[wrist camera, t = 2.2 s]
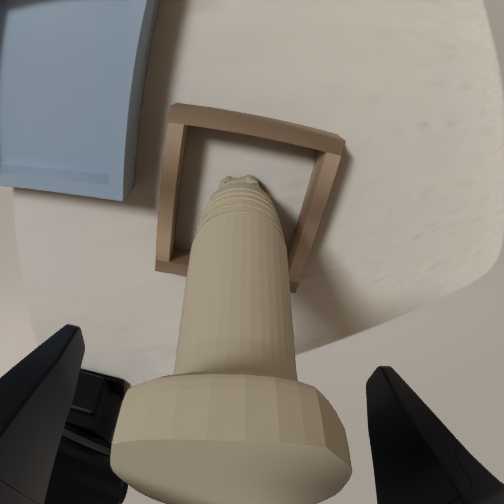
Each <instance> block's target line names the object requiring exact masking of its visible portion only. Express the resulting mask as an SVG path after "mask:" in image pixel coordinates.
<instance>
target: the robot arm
mask: <svg viewBox="0 0 504 504" xmlns="http://www.w3.org/2000/svg"><path fill="white" fill-rule="evenodd" d="M84 351H85V344H84V340H83V336H82V332H81V329H80V327H78V326H74V325H70V324H67V325H65V326H64V327H62V328H61V329H60V330H59V331H57V332H56V333H55V334H54V335H52V336H51V337H50V338H49V339H47V340H46V341H45V342H43V343H42V344H41V345H40V346H39V347H37V348H36V349H35V350H34V351H32V352H31V353H30V354H29V355H27V356H26V357H25V358H24V359H23V360H21V361H20V362H19V363H18V364H17V365H15V366H14V367H13V368H12V369H10V370H9V371H8V372H7V373H6V374H4V375H3V376H2V377H1V378H0V504H122V503H123V501H124V499H125V496H126V493H127V489H128V484H127V483H126V482H124V481H123V480H122V479H120V478H119V477H118V476H117V475H116V474H115V473H114V472H113V470H112V468H111V465H110V455H111V446H112V441H113V437H114V432H115V428H116V424H117V420H118V416H119V413H120V409H121V405H122V402H123V399H124V397H125V394H126V387H125V383H124V381H123V380H121V379H117V378H113V377H108V376H104V375H100V374H96V373H93V372H89V371H85V370H81V369H80V368H81V364H82V360H83V356H84ZM366 395H367V396H366V397H367V416H368V431H369V438H370V445H371V452H372V460H373V467H374V475H375V485H376V494H377V504H504V484H503V483H501V482H500V481H499V480H498V479H497V478H496V477H494V476H493V475H492V474H491V473H490V472H489V471H488V470H487V469H486V468H485V467H484V466H483V465H482V464H480V463H479V462H478V461H477V460H476V459H475V458H474V457H473V456H472V455H471V454H470V453H469V452H468V450H466V448H465V447H464V446H463V445H462V444H461V443H460V442H459V441H458V439H456V438H455V436H454V435H453V434H452V433H451V432H450V431H449V430H448V428H447V427H446V426H445V425H444V424H443V423H442V422H441V421H440V420H439V418H438V417H437V416H436V415H435V414H434V413H433V412H432V411H431V410H430V409H429V407H427V405H426V404H425V403H424V402H423V401H422V400H421V399H420V398H419V397H418V395H417V394H416V393H415V392H414V391H413V390H412V389H411V388H410V387H409V386H408V385H407V384H406V382H405V381H404V380H403V379H402V378H401V377H400V376H399V375H398V374H397V373H396V372H395V371H394V370H393V368H392V367H390V366H379V367H377V369H376V370H375V371H374V372H373V374H372V375H371V377H370V378H369V379H368V381H367V383H366Z"/></svg>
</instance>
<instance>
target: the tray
mask: <svg viewBox="0 0 504 504" xmlns="http://www.w3.org/2000/svg"><path fill="white" fill-rule="evenodd" d="M159 1H160V0H0V185H2V186H10V187H18V188H27V189H35V190H43V191H51V192H58V193H66V194H74V195H81V196H88V197H96V198H103V199H110V200H117V201H123V200H124V199H125V198H126V196H127V195H128V194H129V193H130V191H131V190H132V189H133V188H134V179H135V163H136V150H137V139H138V128H139V119H140V110H141V102H142V94H143V87H144V80H145V73H146V67H147V61H148V55H149V49H150V44H151V39H152V33H153V28H154V23H155V19H156V14H157V10H158V5H159Z"/></svg>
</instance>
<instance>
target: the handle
mask: <svg viewBox="0 0 504 504" xmlns="http://www.w3.org/2000/svg"><path fill="white" fill-rule="evenodd" d="M110 465H111V468H112V470H113V472H114V473H115V474H116V475H117V476H118V477H119V478H120V479H122V480H123V481H124V482H126V483H127V484H128V485H130V486H131V487H132V488H134V489H135V490H137V491H138V492H140V493H142V494H144V495H145V496H148V497H150V498H152V499H155V500H157V501H160V502H163V503H165V504H317V503H319V502H322V501H324V500H327V499H328V498H330V497H332V496H334V495H336V494H337V493H338V492H339V491H341V490H342V488H343V487H344V486H345V484H346V483H347V482H348V480H349V479H350V477H351V474H352V467H351V460H350V453H349V447H348V442H347V438H346V433H345V429H344V427H343V425H342V423H341V421H340V419H339V417H338V415H337V413H336V411H335V410H334V409H333V407H332V405H331V404H330V403H329V401H328V400H327V399H326V398H325V397H324V396H323V395H322V394H321V393H320V392H319V391H318V390H317V389H316V388H315V387H314V386H310V385H307V384H304V383H301V382H298V380H297V374H296V363H295V349H294V336H293V323H292V311H291V297H290V283H289V271H288V258H287V249H286V244H285V239H284V235H283V231H282V227H281V223H280V220H279V217H278V214H277V211H276V209H275V207H274V205H273V202H272V200H271V197H270V196H269V194H268V193H265V192H264V190H262V189H261V187H260V186H259V184H258V181H257V179H256V177H254V176H251V175H247V176H245V177H242V178H233V177H231V176H228V177H226V178H224V179H223V180H222V181H221V183H220V185H219V190H217V191H216V192H215V193H214V195H213V196H212V197H211V199H210V200H209V201H208V203H207V205H206V207H205V209H204V211H203V213H202V216H201V218H200V220H199V223H198V226H197V229H196V233H195V236H194V240H193V243H192V247H191V252H190V259H189V266H188V272H187V279H186V287H185V294H184V301H183V308H182V315H181V323H180V330H179V338H178V345H177V353H176V361H175V369H174V374H173V375H168V376H163V377H160V378H157V379H154V380H150V381H147V382H144V383H140V384H138V385H136V386H134V387H131V388H129V389H128V390H127V392H126V394H125V397H124V399H123V402H122V405H121V409H120V413H119V416H118V420H117V424H116V428H115V432H114V437H113V441H112V446H111V455H110Z"/></svg>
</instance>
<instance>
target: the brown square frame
mask: <svg viewBox="0 0 504 504" xmlns="http://www.w3.org/2000/svg"><path fill="white" fill-rule="evenodd" d="M188 125H191V126H198V127H205V128H211V129H217V130H223V131H229V132H235V133H241V134H246V135H251V136H257V137H262V138H267V139H272V140H276V141H281V142H286V143H290V144H295V145H299V146H303V147H307V148H312V149H316V150H319V151H318V154H317V158H316V161H315V165H314V168H313V172H312V175H311V179H310V182H309V185H308V189H307V192H306V196H305V199H304V202H303V206H302V209H301V212H300V216H299V219H298V222H297V226H296V229H295V232H294V235H293V239H292V242H291V245H290V248H289V252H288V255H287V258H288V271H289V283H290V292H293V293H295V292H296V289H297V287H298V284H299V281H300V278H301V276H302V273H303V270H304V267H305V265H306V262H307V259H308V256H309V253H310V250H311V247H312V245H313V242H314V239H315V236H316V233H317V230H318V227H319V224H320V221H321V218H322V215H323V212H324V209H325V206H326V203H327V200H328V197H329V194H330V191H331V188H332V184H333V181H334V178H335V175H336V172H337V169H338V165H339V162H340V159H341V156H342V152H343V149H344V146H345V142H346V141H345V140H344V139H342V138H341V137H340V136H339V135H337V134H333V133H330V132H326V131H322V130H318V129H314V128H310V127H306V126H302V125H298V124H294V123H289V122H285V121H281V120H276V119H271V118H266V117H262V116H257V115H251V114H246V113H241V112H235V111H229V110H223V109H217V108H211V107H204V106H197V105H189V104H181V103H175V104H174V105H172V106H170V109H169V116H168V124H167V131H166V139H165V148H164V156H163V166H162V176H161V186H160V198H159V211H158V225H157V243H156V265H155V271H159V272H165V273H171V274H177V275H183V276H187V272H188V266H189V259H190V252H191V251H186V250H180V249H174V238H175V228H176V217H177V208H178V199H179V190H180V181H181V173H182V166H183V158H184V151H185V144H186V137H187V130H188Z"/></svg>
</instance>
